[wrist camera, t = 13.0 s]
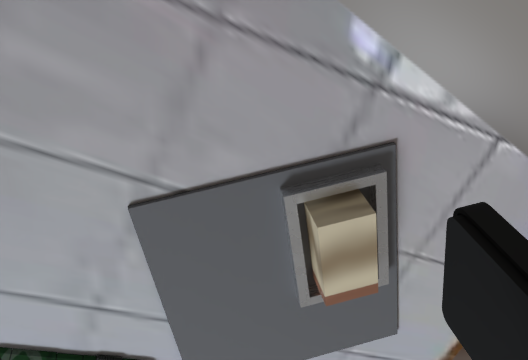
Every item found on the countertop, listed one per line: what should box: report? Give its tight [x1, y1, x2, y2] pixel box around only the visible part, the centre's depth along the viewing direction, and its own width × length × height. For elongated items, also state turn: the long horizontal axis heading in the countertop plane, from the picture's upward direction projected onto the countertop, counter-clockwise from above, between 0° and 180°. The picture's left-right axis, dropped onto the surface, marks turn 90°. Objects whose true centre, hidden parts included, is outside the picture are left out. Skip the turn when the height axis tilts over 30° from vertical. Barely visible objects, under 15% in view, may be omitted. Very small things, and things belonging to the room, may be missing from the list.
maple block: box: [304, 189, 378, 306], centre depth 45 cm, size 9×5×4 cm, turn 8°
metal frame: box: [280, 164, 389, 308], centre depth 46 cm, size 9×13×2 cm
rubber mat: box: [128, 142, 397, 360], centre depth 48 cm, size 23×24×1 cm
